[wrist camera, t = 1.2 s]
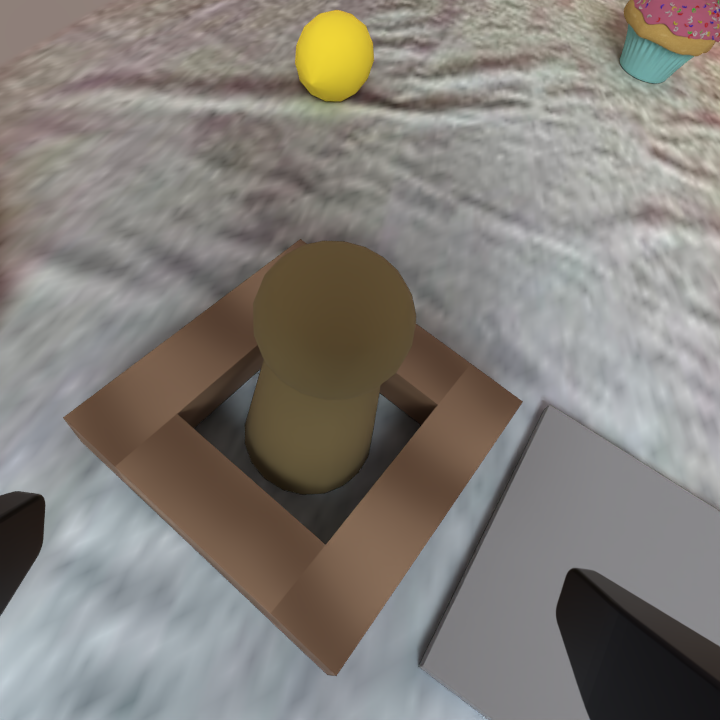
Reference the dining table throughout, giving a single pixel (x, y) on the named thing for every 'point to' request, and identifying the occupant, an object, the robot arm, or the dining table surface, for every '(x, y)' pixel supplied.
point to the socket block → (257, 508)
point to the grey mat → (560, 554)
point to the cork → (324, 362)
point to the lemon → (334, 55)
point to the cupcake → (667, 35)
